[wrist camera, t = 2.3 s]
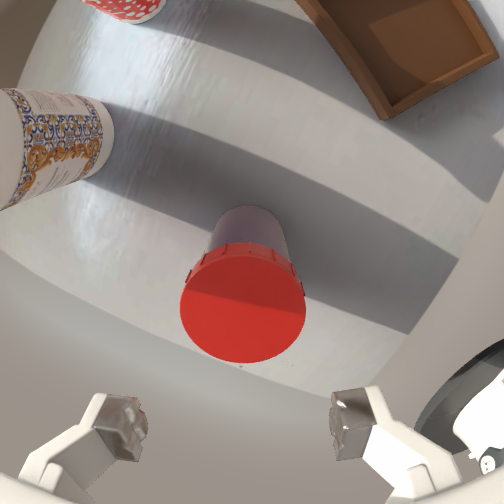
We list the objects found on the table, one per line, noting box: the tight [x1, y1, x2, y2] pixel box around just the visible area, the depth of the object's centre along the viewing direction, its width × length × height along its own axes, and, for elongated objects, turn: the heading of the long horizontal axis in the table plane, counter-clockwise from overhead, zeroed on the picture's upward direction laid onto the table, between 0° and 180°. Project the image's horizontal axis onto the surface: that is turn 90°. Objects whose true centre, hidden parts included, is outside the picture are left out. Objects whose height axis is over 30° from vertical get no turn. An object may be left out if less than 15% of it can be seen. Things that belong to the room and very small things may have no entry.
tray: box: [295, 0, 500, 120], centre depth 17 cm, size 14×12×2 cm
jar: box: [201, 205, 291, 264], centre depth 20 cm, size 6×6×11 cm
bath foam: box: [0, 88, 114, 211], centre depth 13 cm, size 7×7×20 cm
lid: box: [180, 241, 306, 363], centre depth 16 cm, size 6×6×2 cm
